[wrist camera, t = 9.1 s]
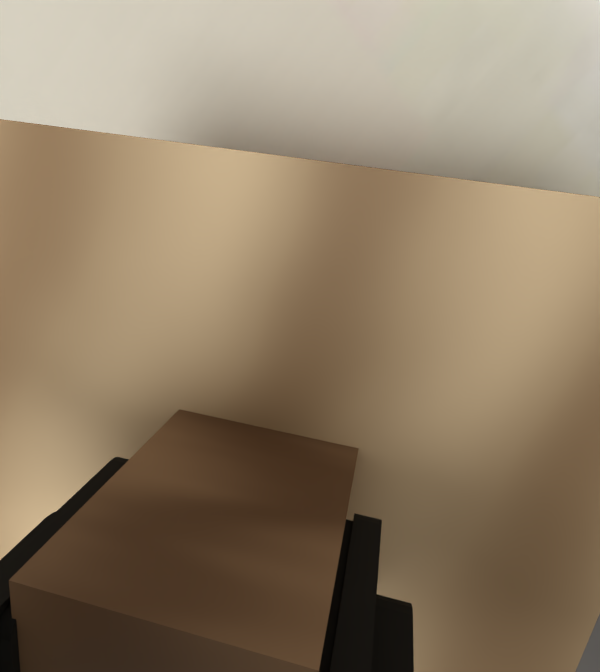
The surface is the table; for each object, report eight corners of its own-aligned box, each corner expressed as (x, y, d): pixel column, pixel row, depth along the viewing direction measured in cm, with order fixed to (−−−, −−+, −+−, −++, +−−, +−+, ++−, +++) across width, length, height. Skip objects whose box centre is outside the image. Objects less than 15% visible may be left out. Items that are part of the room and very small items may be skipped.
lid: (734, 215, 8) (1326, 276, 3) (506, 784, 13) (576, 1202, 8) (-30, 116, 11) (-476, 49, 5) (12, 631, 16) (-199, 873, 10)
